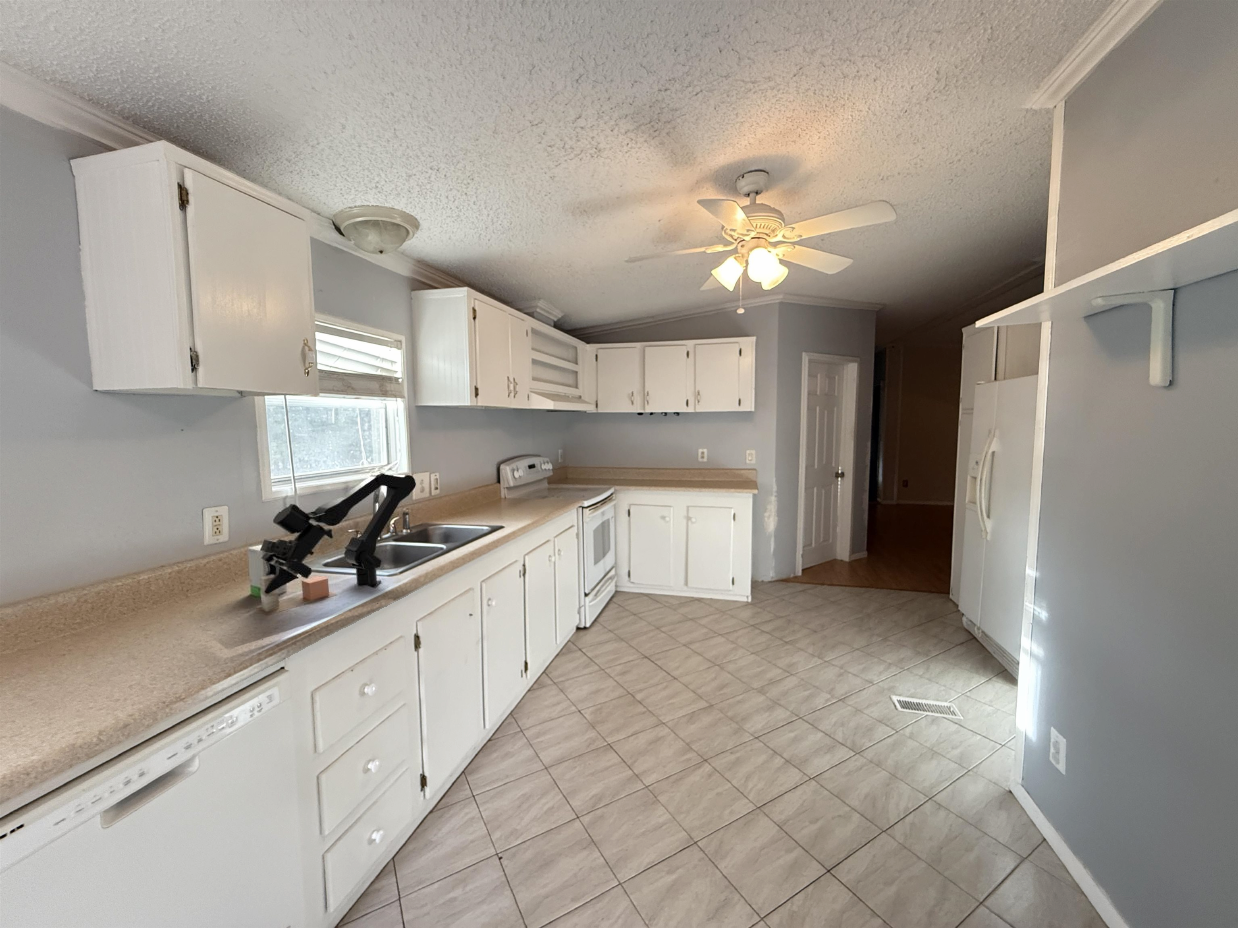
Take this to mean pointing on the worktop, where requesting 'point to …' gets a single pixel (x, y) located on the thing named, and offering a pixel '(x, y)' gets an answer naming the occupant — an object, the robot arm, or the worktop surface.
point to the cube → (315, 587)
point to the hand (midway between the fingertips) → (263, 591)
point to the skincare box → (258, 570)
